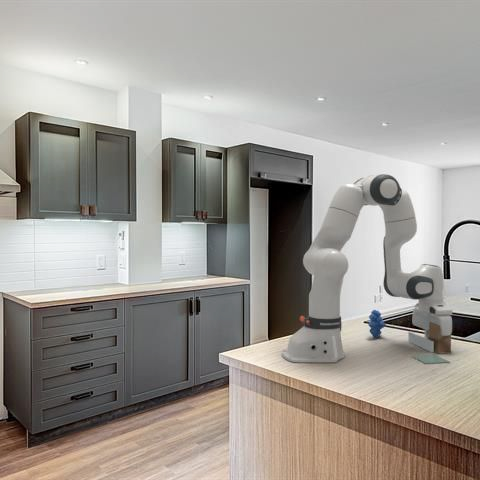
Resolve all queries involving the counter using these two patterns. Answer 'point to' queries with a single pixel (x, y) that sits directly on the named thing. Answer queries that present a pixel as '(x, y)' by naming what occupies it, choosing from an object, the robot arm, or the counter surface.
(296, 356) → the robot arm
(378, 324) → the grapes
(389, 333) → the counter surface
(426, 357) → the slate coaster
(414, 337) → the acrylic channel
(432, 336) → the walnut block
